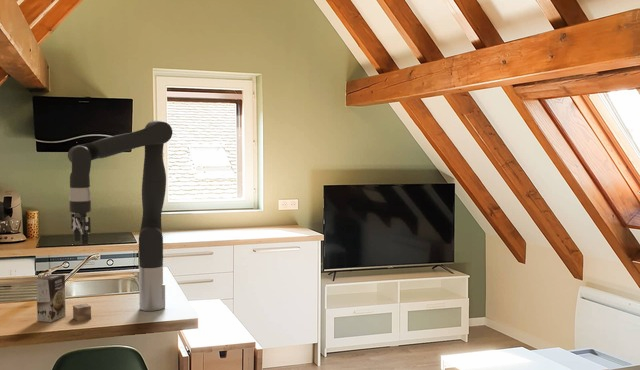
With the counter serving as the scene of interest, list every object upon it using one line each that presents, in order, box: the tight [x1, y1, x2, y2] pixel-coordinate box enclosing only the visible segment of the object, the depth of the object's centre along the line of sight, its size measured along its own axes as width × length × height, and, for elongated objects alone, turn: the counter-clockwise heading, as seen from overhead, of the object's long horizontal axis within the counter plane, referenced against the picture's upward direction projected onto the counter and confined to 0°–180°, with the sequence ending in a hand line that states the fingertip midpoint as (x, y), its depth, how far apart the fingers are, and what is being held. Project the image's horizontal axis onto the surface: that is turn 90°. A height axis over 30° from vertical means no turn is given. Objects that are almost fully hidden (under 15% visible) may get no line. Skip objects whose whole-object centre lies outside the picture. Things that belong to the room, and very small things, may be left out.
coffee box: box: [36, 273, 66, 323], centre depth 245 cm, size 9×6×16 cm
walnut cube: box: [72, 303, 92, 322], centre depth 246 cm, size 5×5×5 cm
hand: (80, 242), depth 244 cm, fingers open, 8 cm apart
